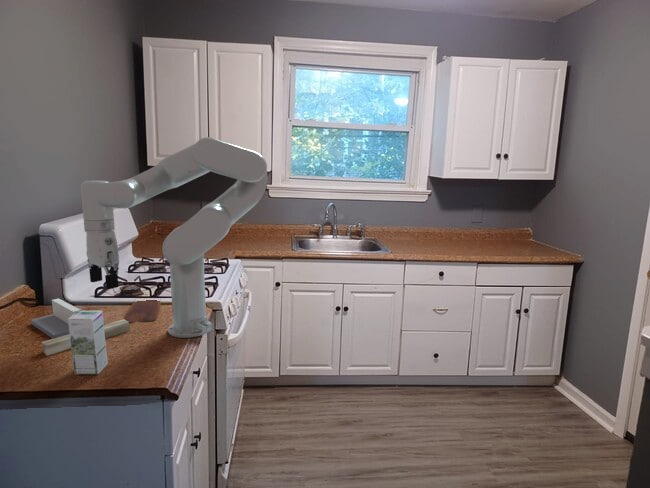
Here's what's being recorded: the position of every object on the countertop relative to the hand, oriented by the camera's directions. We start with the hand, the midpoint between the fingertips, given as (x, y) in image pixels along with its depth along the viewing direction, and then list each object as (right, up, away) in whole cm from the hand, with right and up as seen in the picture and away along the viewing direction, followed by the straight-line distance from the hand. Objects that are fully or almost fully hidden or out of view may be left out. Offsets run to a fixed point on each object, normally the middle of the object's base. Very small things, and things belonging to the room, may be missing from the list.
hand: (104, 284), depth 126 cm
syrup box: (+6, -19, -18) cm, 27 cm away
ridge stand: (-15, -13, +9) cm, 22 cm away
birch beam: (-4, -16, -1) cm, 16 cm away
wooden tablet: (+2, -11, +25) cm, 27 cm away
